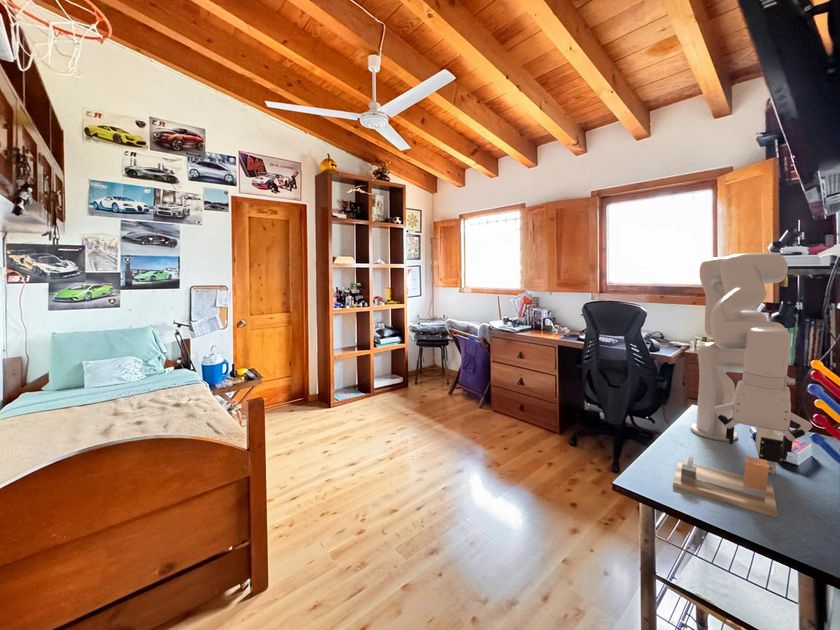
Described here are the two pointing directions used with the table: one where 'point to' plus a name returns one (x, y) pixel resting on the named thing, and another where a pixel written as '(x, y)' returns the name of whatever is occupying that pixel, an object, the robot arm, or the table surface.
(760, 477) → the block
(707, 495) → the plate
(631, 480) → the table surface
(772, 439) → the pneumatic valve
